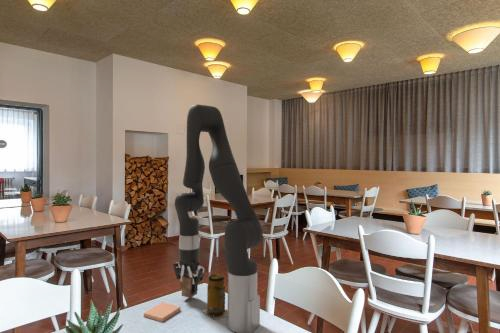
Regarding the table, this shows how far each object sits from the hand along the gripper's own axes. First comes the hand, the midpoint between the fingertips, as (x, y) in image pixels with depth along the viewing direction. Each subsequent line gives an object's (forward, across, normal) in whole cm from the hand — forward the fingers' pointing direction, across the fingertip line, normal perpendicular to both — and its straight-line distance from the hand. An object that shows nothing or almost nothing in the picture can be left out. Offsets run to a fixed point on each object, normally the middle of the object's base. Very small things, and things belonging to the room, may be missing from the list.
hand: (189, 291), depth 120 cm
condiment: (+3, -15, +4) cm, 16 cm away
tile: (+2, +1, +9) cm, 9 cm away
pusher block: (+1, 0, 0) cm, 1 cm away
